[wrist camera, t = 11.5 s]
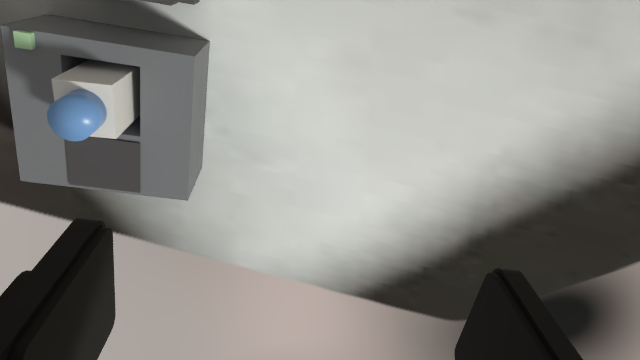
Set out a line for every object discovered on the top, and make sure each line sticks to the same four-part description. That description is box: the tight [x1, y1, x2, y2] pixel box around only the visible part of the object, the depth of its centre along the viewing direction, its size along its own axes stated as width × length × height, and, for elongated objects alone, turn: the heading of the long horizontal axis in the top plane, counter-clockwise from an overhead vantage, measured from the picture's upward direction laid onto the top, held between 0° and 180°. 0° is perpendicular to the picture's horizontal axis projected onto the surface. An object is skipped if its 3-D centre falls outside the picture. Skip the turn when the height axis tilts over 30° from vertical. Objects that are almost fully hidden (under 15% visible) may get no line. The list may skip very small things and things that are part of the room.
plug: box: [47, 59, 140, 141], centre depth 31 cm, size 4×4×10 cm
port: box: [0, 15, 210, 201], centre depth 34 cm, size 12×11×6 cm
